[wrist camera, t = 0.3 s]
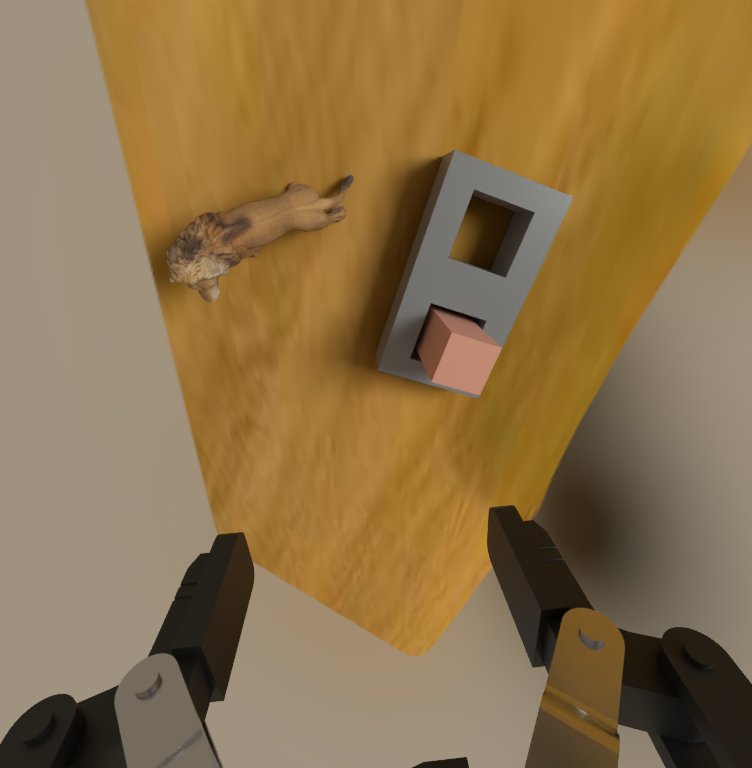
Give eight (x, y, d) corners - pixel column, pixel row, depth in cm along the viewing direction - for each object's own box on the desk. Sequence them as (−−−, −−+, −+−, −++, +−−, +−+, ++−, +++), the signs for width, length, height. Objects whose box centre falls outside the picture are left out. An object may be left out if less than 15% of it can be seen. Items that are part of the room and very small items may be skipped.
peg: (426, 301, 37) (451, 332, 28) (465, 313, 37) (502, 348, 28) (411, 340, 38) (431, 381, 29) (449, 351, 39) (479, 395, 30)
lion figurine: (226, 292, 35) (188, 318, 27) (186, 237, 33) (133, 247, 25) (367, 206, 33) (373, 206, 25) (334, 141, 31) (329, 118, 23)
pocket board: (442, 156, 32) (454, 149, 28) (549, 198, 34) (573, 197, 30) (374, 355, 39) (377, 370, 35) (466, 381, 40) (478, 398, 37)
